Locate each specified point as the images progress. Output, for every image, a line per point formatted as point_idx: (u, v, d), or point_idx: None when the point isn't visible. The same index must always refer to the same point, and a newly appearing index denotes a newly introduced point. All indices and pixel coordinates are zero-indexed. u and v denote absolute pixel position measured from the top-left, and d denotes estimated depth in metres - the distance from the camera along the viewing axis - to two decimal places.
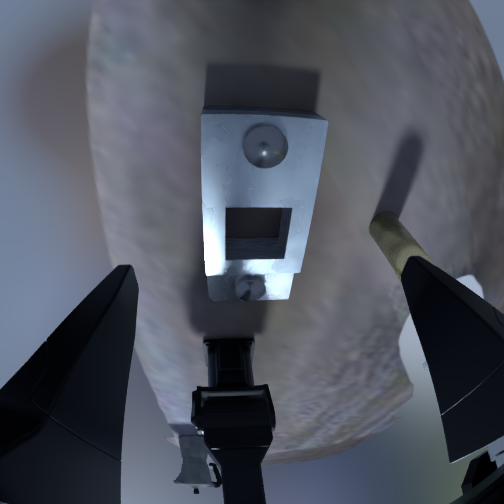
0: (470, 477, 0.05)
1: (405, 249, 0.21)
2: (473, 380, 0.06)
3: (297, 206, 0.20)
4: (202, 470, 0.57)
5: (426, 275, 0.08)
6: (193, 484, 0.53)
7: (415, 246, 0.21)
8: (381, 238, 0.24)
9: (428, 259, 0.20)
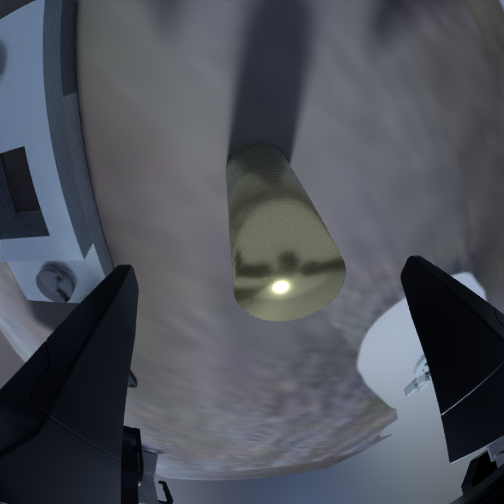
0: (470, 477, 0.05)
1: (248, 200, 0.09)
2: (473, 380, 0.06)
3: (28, 142, 0.08)
4: (146, 489, 0.45)
5: (426, 275, 0.08)
6: None
7: (278, 191, 0.09)
8: (227, 189, 0.12)
9: (304, 220, 0.08)
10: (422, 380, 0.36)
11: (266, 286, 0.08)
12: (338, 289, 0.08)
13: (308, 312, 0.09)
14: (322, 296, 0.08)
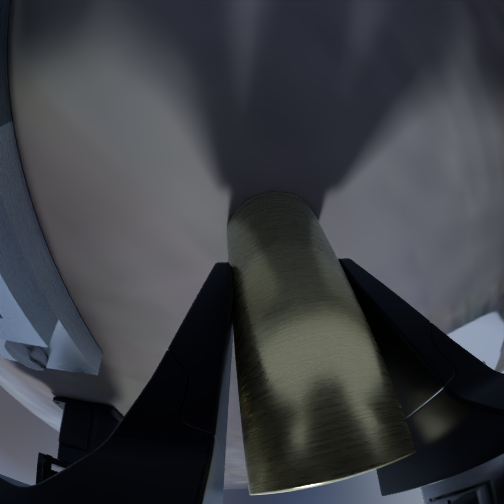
0: None
1: (271, 346, 0.05)
2: None
3: None
4: None
5: (349, 282, 0.07)
6: None
7: (325, 333, 0.05)
8: None
9: (373, 412, 0.04)
10: None
11: (299, 488, 0.04)
12: (394, 461, 0.04)
13: None
14: (371, 470, 0.04)
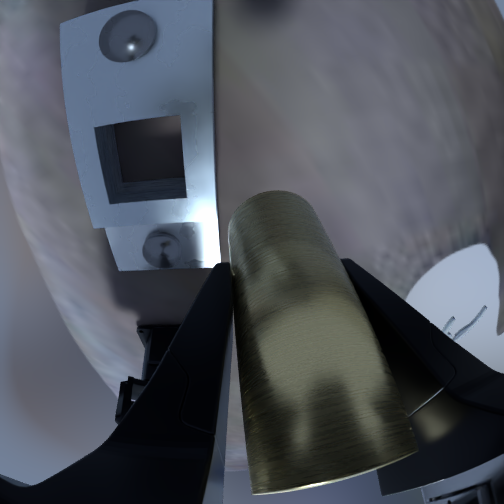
0: None
1: (273, 345, 0.05)
2: None
3: (186, 112, 0.12)
4: None
5: None
6: None
7: (327, 332, 0.05)
8: (232, 277, 0.08)
9: (376, 411, 0.04)
10: None
11: (301, 488, 0.04)
12: (396, 460, 0.04)
13: (350, 477, 0.05)
14: (373, 469, 0.04)
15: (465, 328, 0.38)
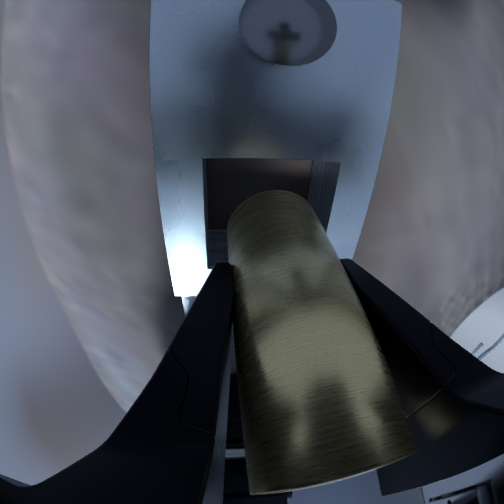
0: None
1: (271, 344, 0.05)
2: None
3: (349, 160, 0.09)
4: None
5: None
6: None
7: (326, 331, 0.05)
8: None
9: (375, 411, 0.04)
10: None
11: (299, 488, 0.04)
12: None
13: None
14: (372, 470, 0.04)
15: (488, 351, 0.36)
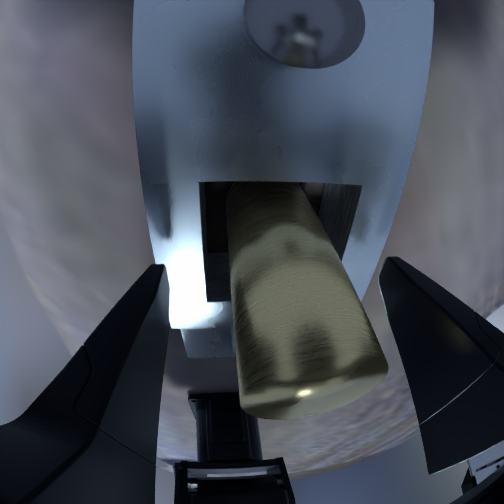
0: (470, 477, 0.05)
1: (258, 270, 0.06)
2: (451, 390, 0.05)
3: (372, 182, 0.08)
4: None
5: (402, 277, 0.08)
6: None
7: (301, 258, 0.06)
8: (228, 233, 0.09)
9: (341, 315, 0.05)
10: None
11: (284, 398, 0.05)
12: (373, 387, 0.06)
13: (332, 408, 0.06)
14: (353, 396, 0.06)
15: None
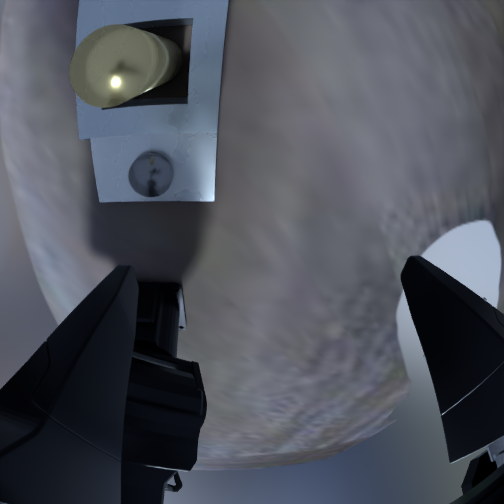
0: (470, 477, 0.05)
1: None
2: (473, 380, 0.06)
3: (200, 15, 0.10)
4: None
5: (426, 275, 0.08)
6: None
7: None
8: None
9: None
10: None
11: (90, 68, 0.07)
12: (148, 68, 0.07)
13: (127, 96, 0.08)
14: (135, 76, 0.08)
15: None
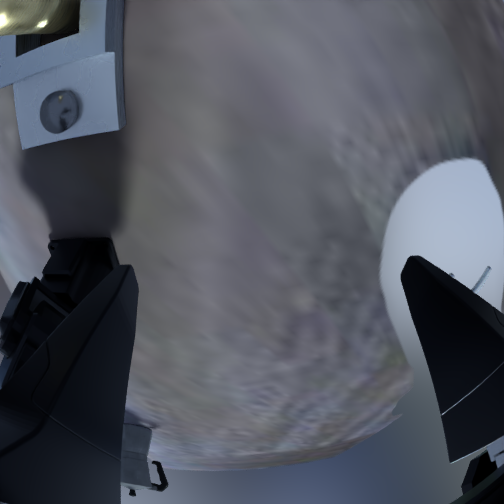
0: (470, 477, 0.05)
1: None
2: (473, 380, 0.06)
3: None
4: (138, 468, 0.43)
5: (426, 275, 0.08)
6: (126, 483, 0.39)
7: None
8: None
9: None
10: None
11: None
12: None
13: (1, 21, 0.04)
14: (7, 5, 0.04)
15: None
